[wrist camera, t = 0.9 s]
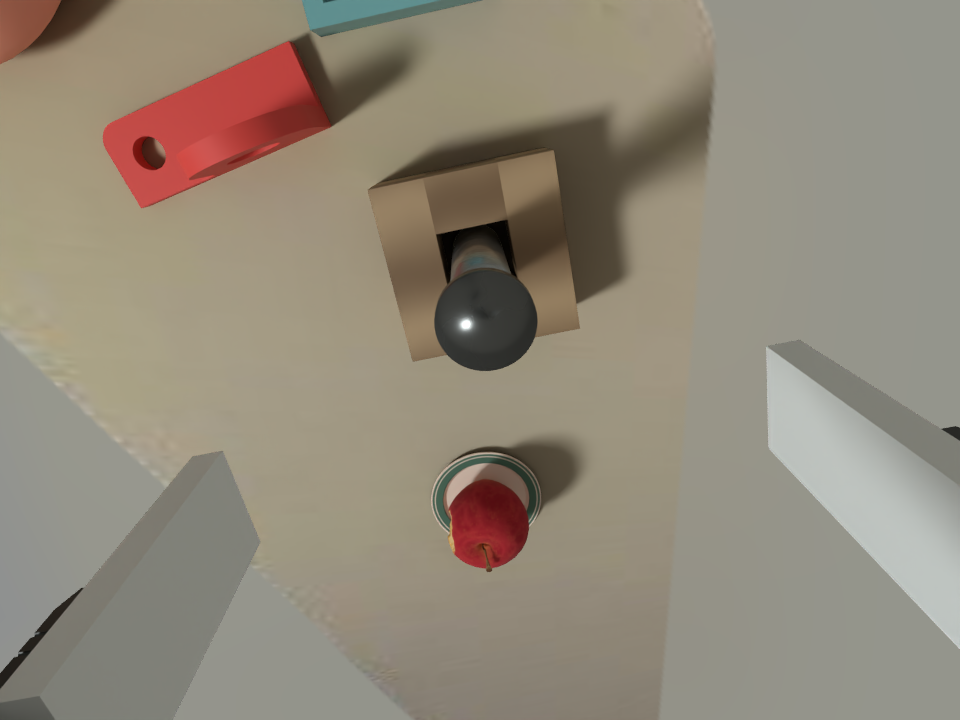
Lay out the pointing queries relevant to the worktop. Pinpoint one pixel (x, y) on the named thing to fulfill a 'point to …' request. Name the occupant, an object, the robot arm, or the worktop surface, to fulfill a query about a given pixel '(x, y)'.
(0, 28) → the teapot
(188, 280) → the worktop surface
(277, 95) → the bracket
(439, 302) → the pin
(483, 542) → the apple
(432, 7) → the tray
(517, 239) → the block
